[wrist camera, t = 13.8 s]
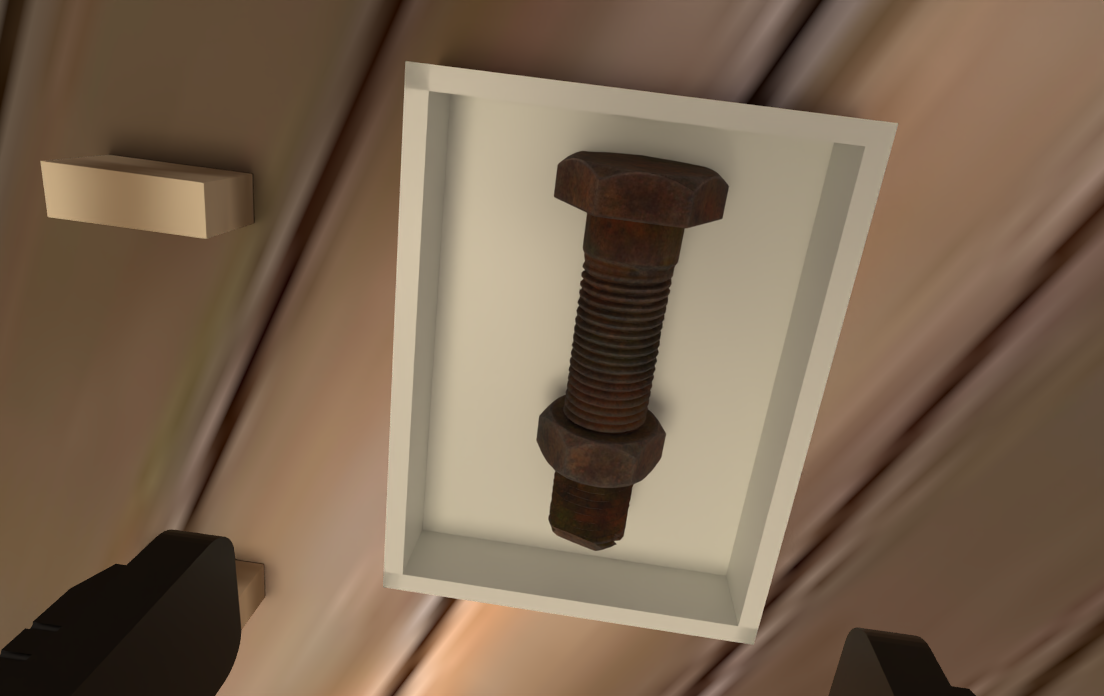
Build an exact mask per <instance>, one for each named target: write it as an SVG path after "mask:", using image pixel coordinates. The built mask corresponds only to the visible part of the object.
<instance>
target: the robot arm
mask: <svg viewBox="0 0 1104 696" xmlns="http://www.w3.org/2000/svg"><path fill="white" fill-rule="evenodd" d="M240 639H241V618H240V607H239V596H238V585H237V574H236V563H235V553H234V547H233V544H232V542H231V541H230V540H229V539H228V538H226V537H222V536H214V535H207V534H200V533H193V532H186V531H179V530H167V531H164V532H163V533H161V534H160V535H158V536H157V537H156V538H155V539H154V540H153V541H152V542H151V543H150V544H149V545H147V546H146V547H145V548H144V549H143V550H142V551H141V552H140V553H139V554H138V555H137V556H136V557H135V558H134V559H133V560H132V561H131V562H129V563H128V564H127V565H120V564H115V565H113V566H111V567H109V568H107V569H105V570H104V571H102V572H100V573H98V574H96V575H94V576H93V577H91V578H89V579H87V580H85V581H83V582H82V583H80V584H78V585H76V586H74V587H72V588H71V589H69V590H68V591H67V592H66V593H65V594H64V595H62V596H61V597H60V598H59V599H58V600H57V601H56V602H55V603H53V604H52V605H51V606H50V607H49V608H48V609H47V610H46V611H44V612H43V613H42V614H41V615H40V616H39V617H38V618H37V619H36V620H34V621H33V625H32V627H31V628H30V629H26V628H25V629H24V630H23V631H22V632H21V633H20V634H19V635H18V636H16V637H15V638H14V639H13V640H12V641H11V642H10V643H9V644H7V645H6V646H5V647H4V648H3V649H2V650H1V654H0V696H215V695H216V693H217V692H218V691H219V689H220V688H221V686H222V685H223V683H224V682H225V680H226V678H227V677H228V675H229V673H230V671H231V669H232V667H233V664H234V662H235V659H236V656H237V653H238V649H239V645H240ZM829 696H976V695H975V694H974V693H973V692H972V691H971V690H970V689H966V688H959V687H952V686H951V685H950V683H949V682H948V680H947V678H946V676H945V674H944V673H943V671H942V669H941V667H940V665H939V664H938V662H937V660H936V658H935V656H934V654H933V653H932V651H931V649H930V647H929V646H928V644H927V643H926V642H925V641H924V640H923V639H922V638H921V637H918V636H914V635H907V634H900V633H893V632H886V631H878V630H871V629H864V628H854V629H852V630H851V631H850V632H849V634H848V636H847V638H846V641H845V644H844V647H843V651H842V654H841V657H840V660H839V664H838V667H837V670H836V673H835V676H834V680H833V683H832V686H831V689H830V693H829Z"/></svg>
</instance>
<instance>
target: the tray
mask: <svg viewBox="0 0 1104 696" xmlns="http://www.w3.org/2000/svg"><path fill="white" fill-rule="evenodd" d="M897 126H898V123H893V122H885V121H877V120H869V119H861V118H853V117H845V116H837V115H829V114H821V113H813V112H805V111H797V110H789V109H781V108H773V107H765V106H757V105H750V104H742V103H734V102H726V101H718V100H710V99H702V98H694V97H686V96H678V95H670V94H662V93H654V92H646V91H638V90H630V89H622V88H614V87H606V86H599V85H591V84H583V83H575V82H567V81H559V80H551V79H543V78H535V77H527V76H519V75H511V74H503V73H495V72H487V71H479V70H471V69H463V68H456V67H448V66H440V65H432V64H424V63H416V62H408V61H406V63H405V86H404V110H403V133H402V156H401V180H400V203H399V227H398V250H397V273H396V297H395V320H394V343H393V367H392V390H391V413H390V437H389V460H388V484H387V507H386V530H385V554H384V577H383V587H385V588H392V589H398V590H405V591H411V592H418V593H424V594H430V595H437V596H443V597H450V598H456V599H463V600H469V601H476V602H482V603H488V604H495V605H501V606H508V607H514V608H521V609H527V610H533V611H540V612H546V613H553V614H559V615H566V616H572V617H579V618H585V619H591V620H598V621H604V622H611V623H617V624H624V625H630V626H636V627H643V628H649V629H656V630H662V631H669V632H675V633H682V634H688V635H694V636H701V637H707V638H714V639H720V640H727V641H733V642H739V643H746V644H752V645H754V642H755V638H756V634H757V631H758V627H759V624H760V620H761V616H762V613H763V609H764V605H765V602H766V598H767V595H768V591H769V587H770V584H771V580H772V577H773V573H774V569H775V566H776V562H777V559H778V555H779V551H780V548H781V544H782V541H783V537H784V533H785V530H786V526H787V523H788V519H789V515H790V512H791V508H792V505H793V501H794V497H795V494H796V490H797V487H798V483H799V479H800V476H801V472H802V469H803V465H804V461H805V458H806V454H807V451H808V447H809V443H810V440H811V436H812V433H813V429H814V425H815V422H816V418H817V415H818V411H819V407H820V404H821V400H822V397H823V393H824V389H825V386H826V382H827V379H828V375H829V371H830V368H831V364H832V361H833V357H834V353H835V350H836V346H837V343H838V339H839V335H840V332H841V328H842V325H843V321H844V317H845V314H846V310H847V307H848V303H849V299H850V296H851V292H852V289H853V285H854V281H855V278H856V274H857V270H858V267H859V263H860V260H861V256H862V252H863V249H864V245H865V242H866V238H867V234H868V231H869V227H870V224H871V220H872V216H873V213H874V209H875V206H876V202H877V198H878V195H879V191H880V188H881V184H882V180H883V177H884V173H885V170H886V166H887V162H888V159H889V155H890V152H891V148H892V144H893V141H894V137H895V134H896V130H897ZM579 151H588V152H611V153H623V154H634V155H644V156H649V157H655V158H661V159H667V160H673V161H679V162H684V163H689V164H694V165H699V166H704V167H707V168H710V169H712V170H714V171H716V172H717V173H718V174H719V175H720V176H721V177H722V178H723V179H724V180H725V182H726V183H727V184H728V186H729V189H728V194H727V199H726V204H725V209H724V214H723V219H721V220H717V221H713V222H710V223H706V224H702V225H698V226H694V227H691V228H685V230H684V235H683V240H682V245H681V250H680V255H679V260H678V263H677V264H676V265H675V268H674V273H673V277H672V278H671V282H672V284H671V286H670V287H669V289H670V294H669V295H668V304H667V305H666V312H665V314H664V321H663V322H662V323H663V328H662V329H661V337H660V346H659V347H658V351H659V353H658V355H657V357H656V358H657V363H656V364H655V368H656V369H655V372H654V373H653V375H654V379H653V381H652V388H651V390H650V391H651V396H650V398H649V405H648V406H647V407H648V410H650V411H651V412H652V413H653V414H654V415H655V417H656V418H657V419H658V421H659V422H660V424H661V426H662V427H663V429H664V431H665V432H666V437H665V442H664V447H663V452H662V457H661V459H660V461H659V462H658V463H657V465H656V466H655V468H654V469H653V470H652V471H651V472H650V473H649V474H648V475H647V477H646V478H644V479H643V480H642V481H640V482H638V483H635V484H634V485H633V487H632V494H631V500H630V502H629V505H630V506H629V508H628V515H627V521H626V528H625V532H624V537H623V538H622V539H621V540H620V541H614V542H615V543H616V545H614V546H612V547H610V548H606V549H604V550H599V551H593V550H591V549H588V548H586V547H583V546H581V545H578V544H576V543H573V542H571V541H568V540H566V539H564V538H561V537H559V536H557V535H556V534H555V533H554V532H553V531H552V528H551V525H550V523H549V520H548V517H549V515H550V513H549V511H550V503H551V500H552V492H553V487H552V486H553V485H554V483H553V479H554V474H555V470H554V469H553V468H552V467H551V466H550V465H549V464H548V463H547V461H546V459H545V458H544V456H543V454H542V452H541V450H540V448H539V446H538V443H537V441H536V438H537V429H538V421H539V415H540V414H541V413H542V412H543V411H544V410H545V409H546V408H547V407H548V406H549V405H550V404H551V403H552V402H553V401H555V400H556V399H557V398H559V397H561V396H563V395H566V390H567V382H568V381H569V380H568V375H569V367H570V358H571V350H572V348H573V347H572V343H573V334H574V326H575V324H576V323H575V318H576V316H577V311H576V310H577V308H578V306H579V304H578V300H579V297H580V294H579V290H580V289H581V288H582V287H581V286H580V281H581V280H583V278H582V276H581V274H582V272H583V271H584V268H583V263H584V262H585V258H584V251H583V240H584V232H585V225H586V217H587V213H586V212H584V211H582V210H580V209H578V208H576V207H573V206H571V205H569V204H567V203H565V202H563V201H561V200H559V199H557V198H555V197H554V190H555V182H556V173H557V165H558V163H560V162H561V161H562V160H564V159H565V158H566V157H568V156H570V155H572V154H574V153H576V152H579Z"/></svg>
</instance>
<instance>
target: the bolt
mask: <svg viewBox="0 0 1104 696" xmlns="http://www.w3.org/2000/svg"><path fill="white" fill-rule="evenodd" d="M728 189H729V186H728V184H727V183H726V182H725V180H724V179H723V178H722V177H721V176H720V175H719V174H718V173H717V172H716V171H714V170H712V169H710V168H707V167H704V166H699V165H694V164H689V163H684V162H679V161H673V160H667V159H661V158H655V157H649V156H644V155H634V154H623V153H611V152H588V151H579V152H576V153H574V154H572V155H570V156H568V157H566V158H565V159H564V160H562V161H561V162H560V163H558V165H557V173H556V182H555V190H554V197H555V198H557V199H559V200H561V201H563V202H565V203H567V204H569V205H571V206H573V207H576V208H578V209H580V210H582V211H584V212H586V213H587V217H586V225H585V232H584V240H583V251H584V258H585V262H584V263H583V268H584V271H583V272H582V274H581V276H582V278H583V280H581V281H580V286H581V287H582V288H581V289H580V290H579V294H580V297H579V300H578V304H579V306H578V308H577V310H576V311H577V316H576V318H575V323H576V324H575V326H574V334H573V343H572V347H573V348H572V350H571V358H570V367H569V375H568V380H569V381H568V382H567V390H566V395H563V396H561V397H559V398H557V399H556V400H555V401H553V402H552V403H551V404H550V405H549V406H548V407H547V408H546V409H545V410H544V411H543V412H542V413H541V414H540V415H539V421H538V429H537V438H536V441H537V443H538V446H539V448H540V450H541V452H542V454H543V456H544V458H545V459H546V461H547V463H548V464H549V465H550V466H551V467H552V468H553V469H554V470H555V474H554V479H553V483H554V485H553V486H552V487H553V492H552V500H551V503H550V511H549V513H550V515H549V517H548V520H549V523H550V525H551V528H552V531H553V532H554V533H555V534H556V535H557V536H559V537H561V538H564V539H566V540H568V541H571V542H573V543H576V544H578V545H581V546H583V547H586V548H588V549H591V550H593V551H599V550H604V549H606V548H610V547H612V546H614V545H616V543H615V542H614V541H620V540H621V539H622V538H623V537H624V532H625V528H626V521H627V515H628V508H629V506H630V505H629V502H630V500H631V494H632V487H633V485H634V484H635V483H638V482H640V481H642V480H643V479H644V478H646V477H647V475H648V474H649V473H650V472H651V471H652V470H653V469H654V468H655V466H656V465H657V463H658V462H659V461H660V459H661V457H662V452H663V447H664V442H665V437H666V432H665V431H664V429H663V427H662V426H661V424H660V422H659V421H658V419H657V418H656V417H655V415H654V414H653V413H652V412H651V411H650V410H648V407H647V406H648V405H649V398H650V396H651V391H650V390H651V388H652V381H653V379H654V375H653V373H654V372H655V369H656V368H655V364H656V363H657V358H656V357H657V355H658V353H659V351H658V347H659V346H660V337H661V329H662V328H663V323H662V322H663V321H664V314H665V312H666V305H667V304H668V295H669V294H670V289H669V287H670V286H671V284H672V282H671V278H672V277H673V273H674V268H675V265H676V264H677V263H678V260H679V255H680V250H681V245H682V240H683V235H684V230H685V228H691V227H694V226H698V225H702V224H706V223H710V222H713V221H717V220H721V219H723V214H724V209H725V204H726V199H727V194H728Z"/></svg>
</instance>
